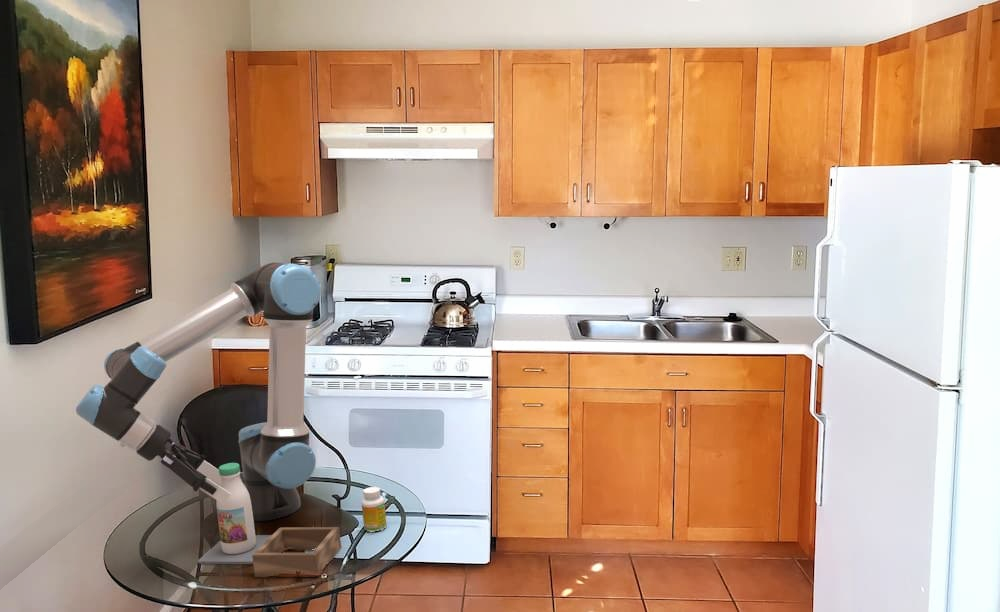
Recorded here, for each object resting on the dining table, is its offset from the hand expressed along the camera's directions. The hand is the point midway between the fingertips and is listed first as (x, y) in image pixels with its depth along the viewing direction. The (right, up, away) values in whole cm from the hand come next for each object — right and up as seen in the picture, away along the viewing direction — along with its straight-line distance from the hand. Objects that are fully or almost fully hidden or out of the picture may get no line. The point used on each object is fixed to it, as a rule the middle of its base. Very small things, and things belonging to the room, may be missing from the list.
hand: (225, 489), depth 194 cm
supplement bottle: (+33, -12, +10) cm, 36 cm away
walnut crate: (+18, -15, -6) cm, 24 cm away
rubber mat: (+2, -15, +3) cm, 15 cm away
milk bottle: (+2, -14, +3) cm, 15 cm away
